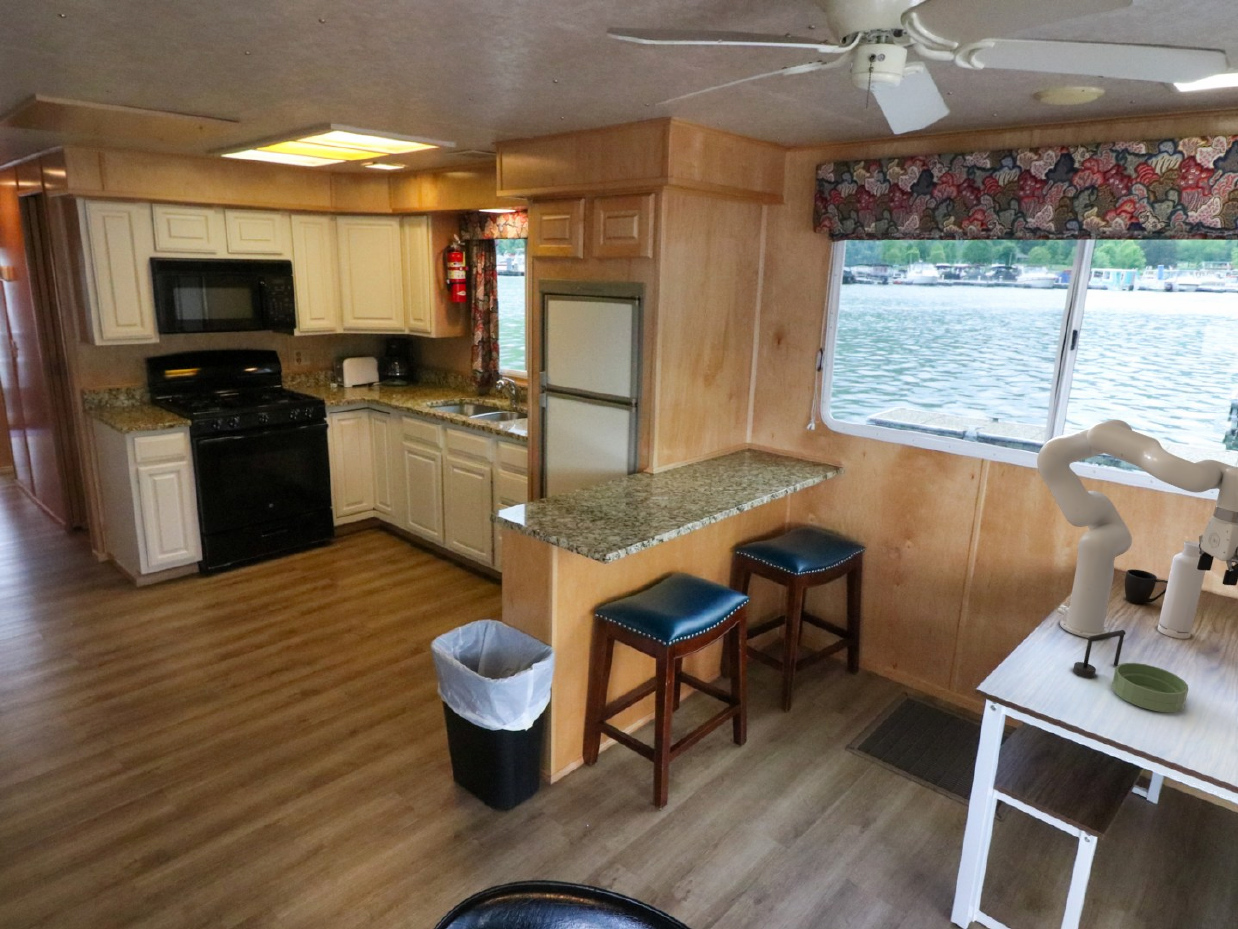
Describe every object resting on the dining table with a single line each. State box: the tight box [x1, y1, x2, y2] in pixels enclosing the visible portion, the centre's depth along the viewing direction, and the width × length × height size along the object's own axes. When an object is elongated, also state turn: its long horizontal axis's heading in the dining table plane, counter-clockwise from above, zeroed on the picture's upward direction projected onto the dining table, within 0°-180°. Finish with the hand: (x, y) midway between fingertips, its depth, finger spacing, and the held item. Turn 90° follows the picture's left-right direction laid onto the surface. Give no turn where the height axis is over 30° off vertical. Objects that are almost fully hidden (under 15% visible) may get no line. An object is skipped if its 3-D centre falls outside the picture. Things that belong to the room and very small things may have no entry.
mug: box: [1124, 569, 1168, 606], centre depth 252 cm, size 8×12×10 cm
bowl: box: [1111, 662, 1189, 713], centre depth 195 cm, size 15×15×6 cm
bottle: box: [1157, 540, 1207, 640], centre depth 229 cm, size 8×8×28 cm
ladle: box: [1072, 629, 1126, 679], centre depth 208 cm, size 15×5×11 cm, turn 112°
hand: (1216, 577), depth 204 cm, fingers open, 9 cm apart
